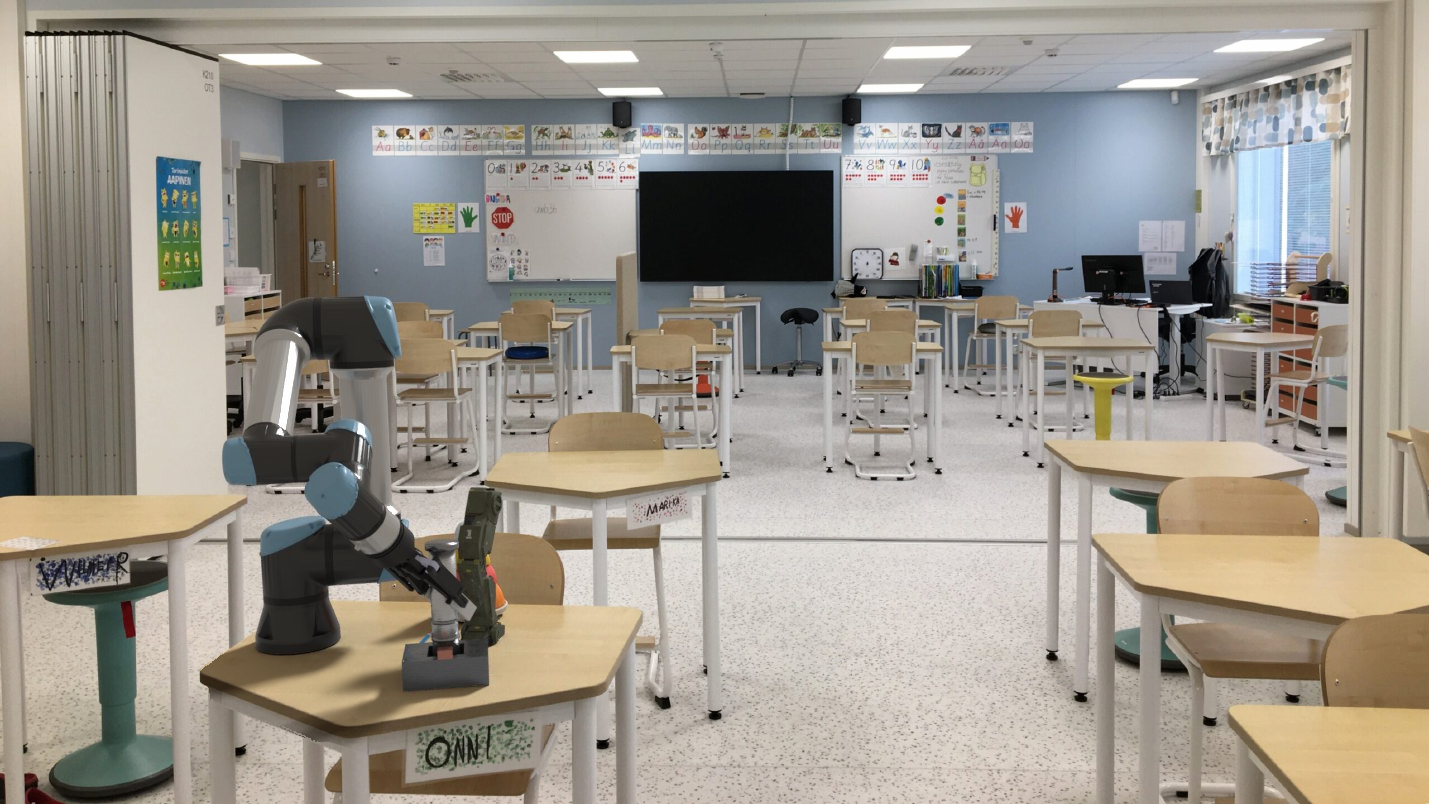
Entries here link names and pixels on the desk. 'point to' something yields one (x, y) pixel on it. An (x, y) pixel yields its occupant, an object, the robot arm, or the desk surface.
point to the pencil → (426, 637)
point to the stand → (445, 666)
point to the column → (443, 599)
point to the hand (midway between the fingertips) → (460, 611)
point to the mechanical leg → (479, 563)
